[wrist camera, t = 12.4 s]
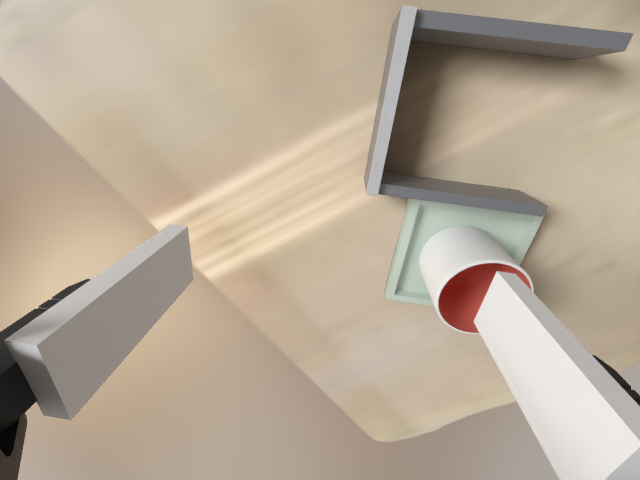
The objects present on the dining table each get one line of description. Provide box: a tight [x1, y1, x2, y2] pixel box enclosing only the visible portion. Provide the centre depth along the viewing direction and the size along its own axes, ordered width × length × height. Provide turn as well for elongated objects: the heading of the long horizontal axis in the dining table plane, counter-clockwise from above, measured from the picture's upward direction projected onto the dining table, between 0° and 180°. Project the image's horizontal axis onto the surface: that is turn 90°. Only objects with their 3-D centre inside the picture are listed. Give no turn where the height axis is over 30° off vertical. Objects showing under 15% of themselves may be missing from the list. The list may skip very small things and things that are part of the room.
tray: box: [384, 198, 545, 306], centre depth 40 cm, size 16×16×2 cm
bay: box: [364, 5, 633, 217], centre depth 30 cm, size 16×19×7 cm
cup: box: [419, 226, 534, 334], centre depth 36 cm, size 10×10×10 cm
